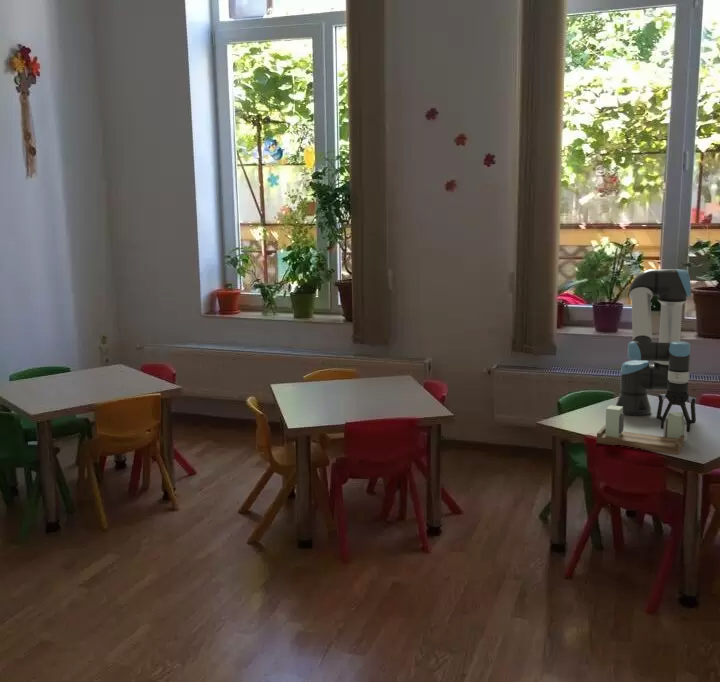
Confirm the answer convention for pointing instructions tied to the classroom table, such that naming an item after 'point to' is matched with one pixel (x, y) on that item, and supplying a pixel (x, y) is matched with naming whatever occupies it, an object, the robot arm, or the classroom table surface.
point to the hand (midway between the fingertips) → (674, 438)
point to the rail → (643, 441)
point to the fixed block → (614, 421)
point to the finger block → (674, 425)
